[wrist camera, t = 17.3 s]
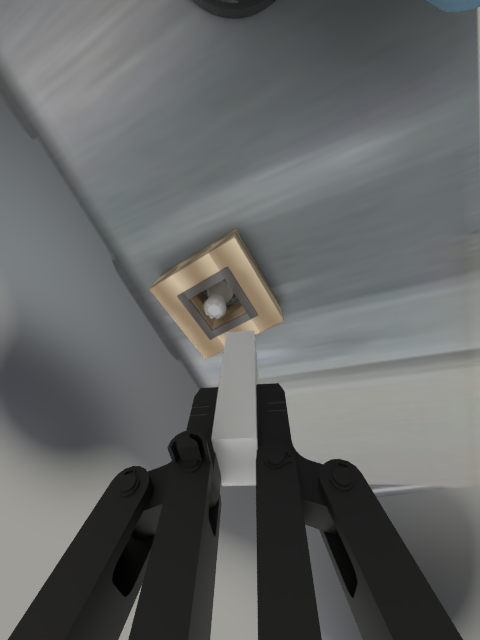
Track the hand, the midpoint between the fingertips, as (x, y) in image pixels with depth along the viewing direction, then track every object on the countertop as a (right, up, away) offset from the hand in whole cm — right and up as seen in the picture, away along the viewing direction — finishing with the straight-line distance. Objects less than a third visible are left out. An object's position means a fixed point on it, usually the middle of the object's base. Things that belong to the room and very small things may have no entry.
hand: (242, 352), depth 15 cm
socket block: (-3, +7, +30) cm, 31 cm away
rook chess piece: (-3, +7, +30) cm, 31 cm away
